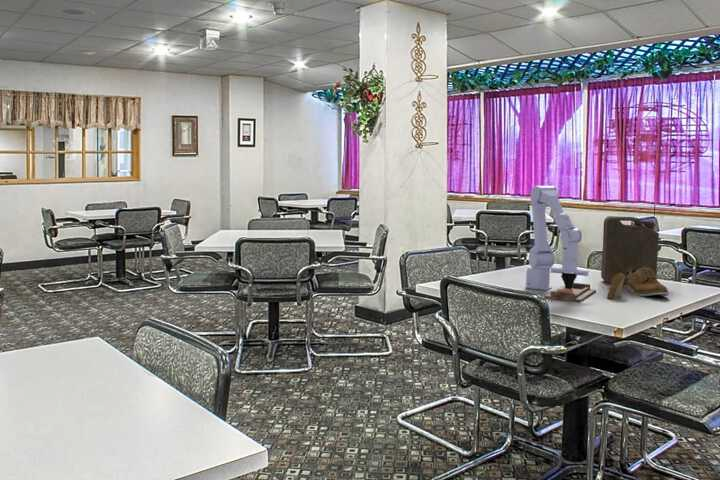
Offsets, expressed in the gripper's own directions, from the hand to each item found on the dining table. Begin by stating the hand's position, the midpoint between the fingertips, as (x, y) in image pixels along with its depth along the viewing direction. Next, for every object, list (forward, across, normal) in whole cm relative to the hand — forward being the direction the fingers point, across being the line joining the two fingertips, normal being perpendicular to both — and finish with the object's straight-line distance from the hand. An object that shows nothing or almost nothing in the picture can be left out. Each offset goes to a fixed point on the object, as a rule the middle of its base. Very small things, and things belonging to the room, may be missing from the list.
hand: (568, 292), depth 269 cm
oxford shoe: (+2, +25, +26) cm, 36 cm away
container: (+2, +14, +48) cm, 50 cm away
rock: (+2, +15, +10) cm, 18 cm away
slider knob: (+1, 0, -5) cm, 5 cm away
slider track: (+2, 0, +4) cm, 4 cm away
